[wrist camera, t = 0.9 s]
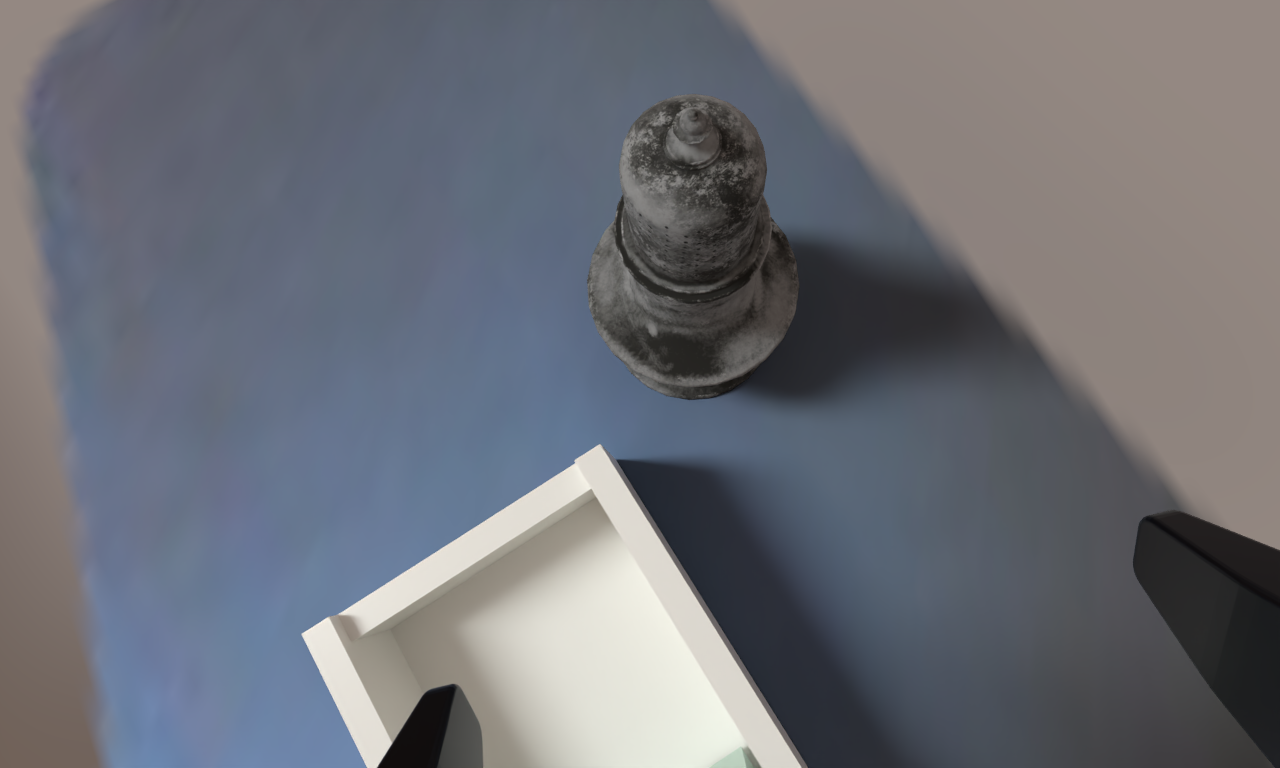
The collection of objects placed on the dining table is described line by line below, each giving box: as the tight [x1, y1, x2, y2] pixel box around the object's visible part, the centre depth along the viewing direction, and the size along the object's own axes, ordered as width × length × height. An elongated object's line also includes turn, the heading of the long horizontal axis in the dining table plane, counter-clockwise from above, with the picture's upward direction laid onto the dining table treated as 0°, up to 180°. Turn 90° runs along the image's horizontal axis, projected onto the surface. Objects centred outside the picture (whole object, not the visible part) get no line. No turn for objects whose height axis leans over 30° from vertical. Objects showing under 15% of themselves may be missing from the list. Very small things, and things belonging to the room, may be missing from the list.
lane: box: [302, 444, 808, 768], centre depth 19 cm, size 12×9×5 cm
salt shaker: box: [587, 94, 799, 400], centre depth 18 cm, size 6×6×12 cm
